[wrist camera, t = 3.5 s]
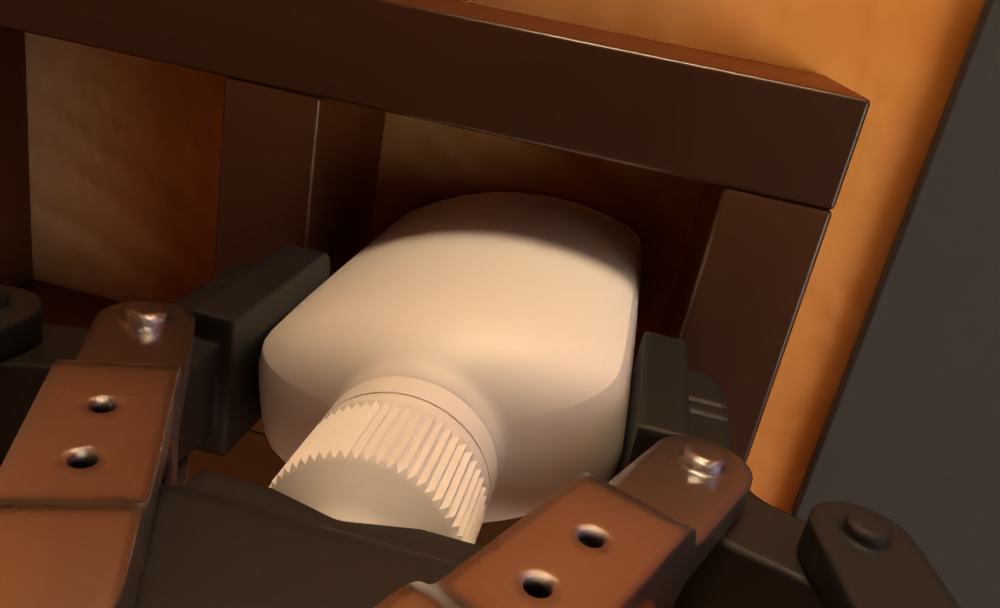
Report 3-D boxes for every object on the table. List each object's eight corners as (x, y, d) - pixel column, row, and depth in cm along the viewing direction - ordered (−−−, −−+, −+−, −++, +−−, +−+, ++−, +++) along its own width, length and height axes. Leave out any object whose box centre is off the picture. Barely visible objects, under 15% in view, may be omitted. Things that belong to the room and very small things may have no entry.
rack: (-52, -104, 19) (-230, -127, 15) (827, 75, 17) (872, 100, 13) (-25, 325, 23) (-160, 390, 19) (686, 513, 21) (690, 627, 17)
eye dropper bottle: (572, 398, 20) (452, 899, 9) (370, 274, 20) (-4, 628, 9) (676, 250, 18) (687, 646, 7) (457, 115, 18) (128, 306, 7)
